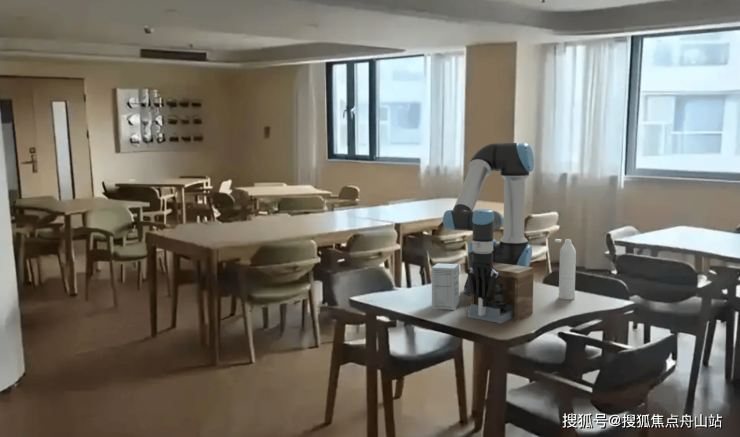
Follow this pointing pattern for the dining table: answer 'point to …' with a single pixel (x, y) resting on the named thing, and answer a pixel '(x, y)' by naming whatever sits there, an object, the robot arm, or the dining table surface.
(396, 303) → the dining table surface
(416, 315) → the dining table surface
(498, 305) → the dark grey figurine
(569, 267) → the water bottle
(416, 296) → the dining table surface
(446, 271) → the supplement box
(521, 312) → the wooden crate
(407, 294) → the dining table surface
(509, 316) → the tray
